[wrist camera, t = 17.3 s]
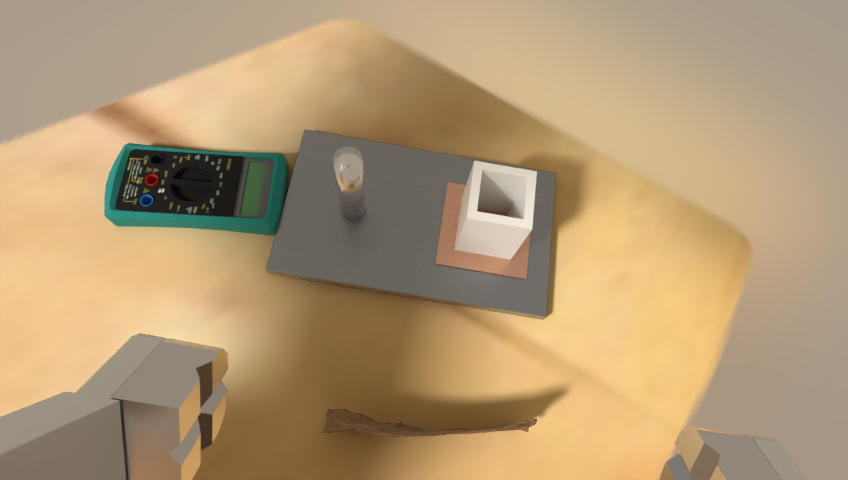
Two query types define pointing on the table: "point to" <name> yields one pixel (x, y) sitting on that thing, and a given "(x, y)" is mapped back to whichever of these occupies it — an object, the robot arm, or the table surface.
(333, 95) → the table surface
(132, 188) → the digital multimeter
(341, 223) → the post plate
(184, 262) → the table surface
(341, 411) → the brown bark piece
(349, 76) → the table surface
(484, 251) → the sleeve
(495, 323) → the table surface
